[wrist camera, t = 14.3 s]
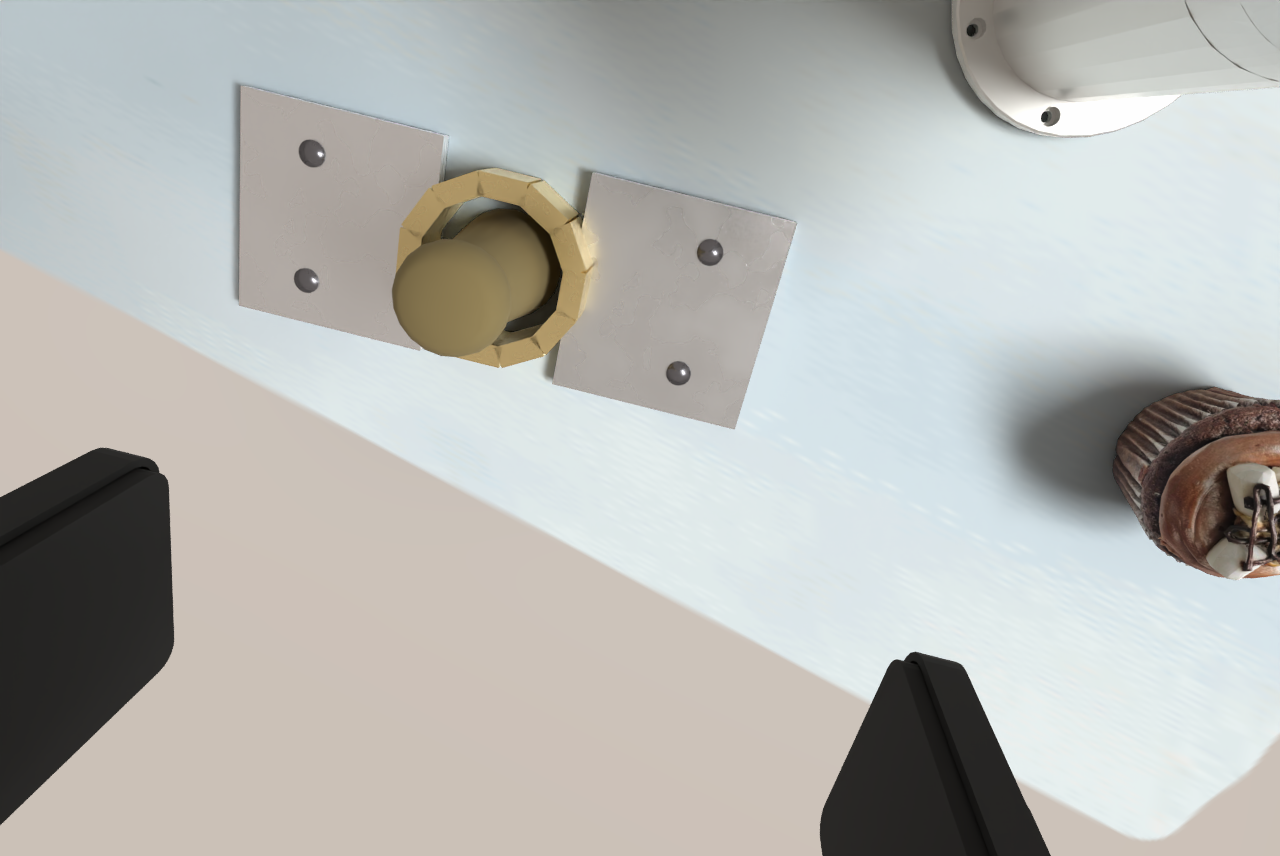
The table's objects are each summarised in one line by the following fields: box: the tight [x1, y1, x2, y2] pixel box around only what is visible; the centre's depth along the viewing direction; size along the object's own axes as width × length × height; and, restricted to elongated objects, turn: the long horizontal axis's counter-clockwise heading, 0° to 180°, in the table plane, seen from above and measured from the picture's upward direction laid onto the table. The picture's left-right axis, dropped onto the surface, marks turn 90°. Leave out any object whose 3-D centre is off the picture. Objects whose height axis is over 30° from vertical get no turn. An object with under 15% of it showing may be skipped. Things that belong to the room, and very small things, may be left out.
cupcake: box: [1113, 387, 1280, 580], centre depth 37 cm, size 10×10×10 cm
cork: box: [392, 209, 560, 357], centre depth 36 cm, size 6×6×11 cm
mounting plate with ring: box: [239, 86, 797, 429], centre depth 40 cm, size 12×30×3 cm, turn 77°
